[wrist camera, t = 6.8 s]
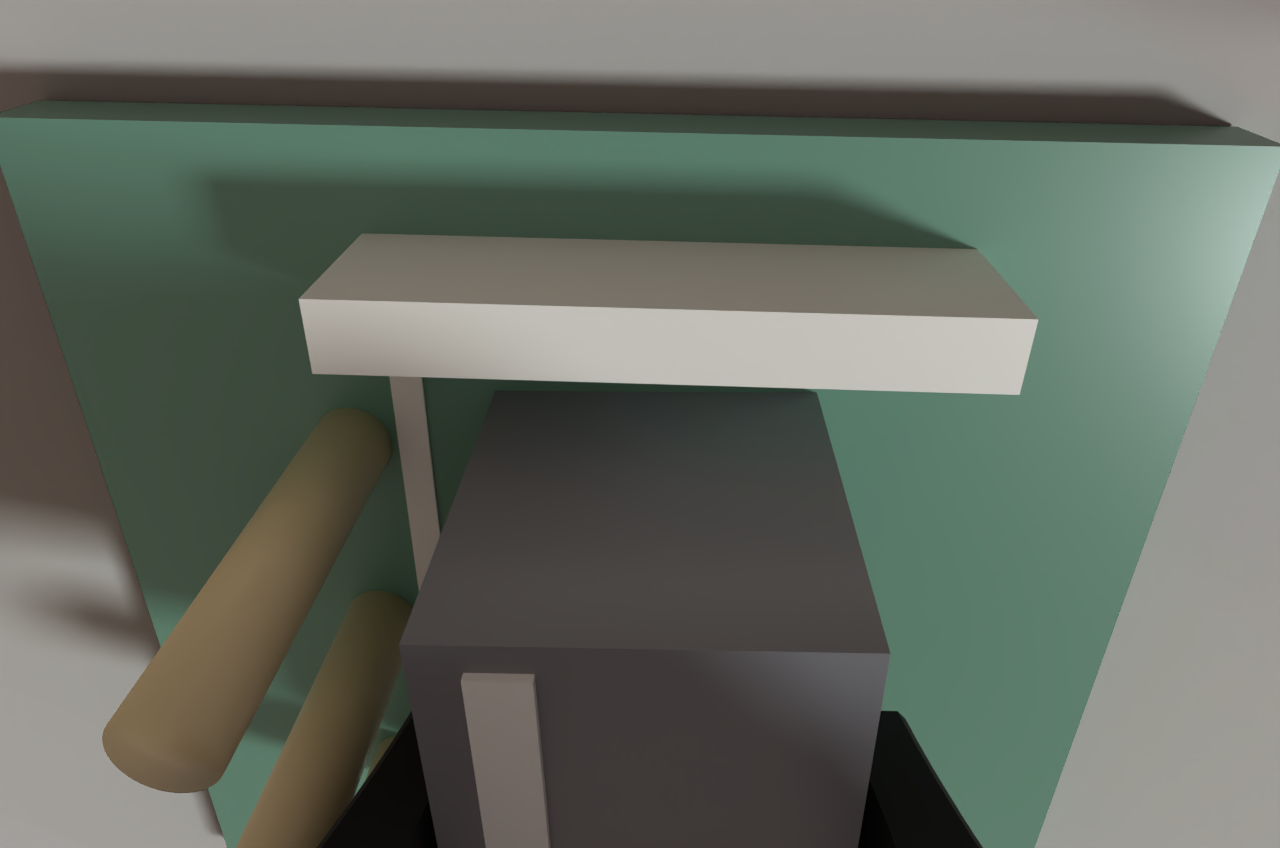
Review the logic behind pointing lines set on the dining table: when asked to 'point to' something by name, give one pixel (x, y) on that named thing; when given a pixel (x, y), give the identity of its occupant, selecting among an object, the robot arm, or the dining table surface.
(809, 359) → the header board
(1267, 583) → the dining table surface
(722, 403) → the block
